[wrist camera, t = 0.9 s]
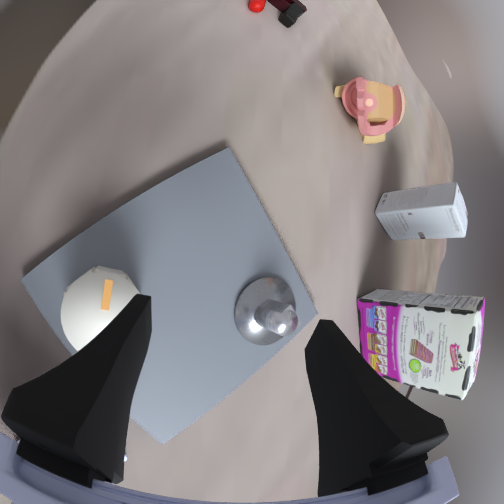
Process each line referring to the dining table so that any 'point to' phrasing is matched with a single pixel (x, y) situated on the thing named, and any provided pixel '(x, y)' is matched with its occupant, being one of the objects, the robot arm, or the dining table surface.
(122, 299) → the knob
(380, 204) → the skincare box
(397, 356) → the candy bar box
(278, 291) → the grey disc
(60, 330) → the board
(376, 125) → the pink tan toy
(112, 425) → the robot arm
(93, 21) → the dining table surface
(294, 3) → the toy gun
